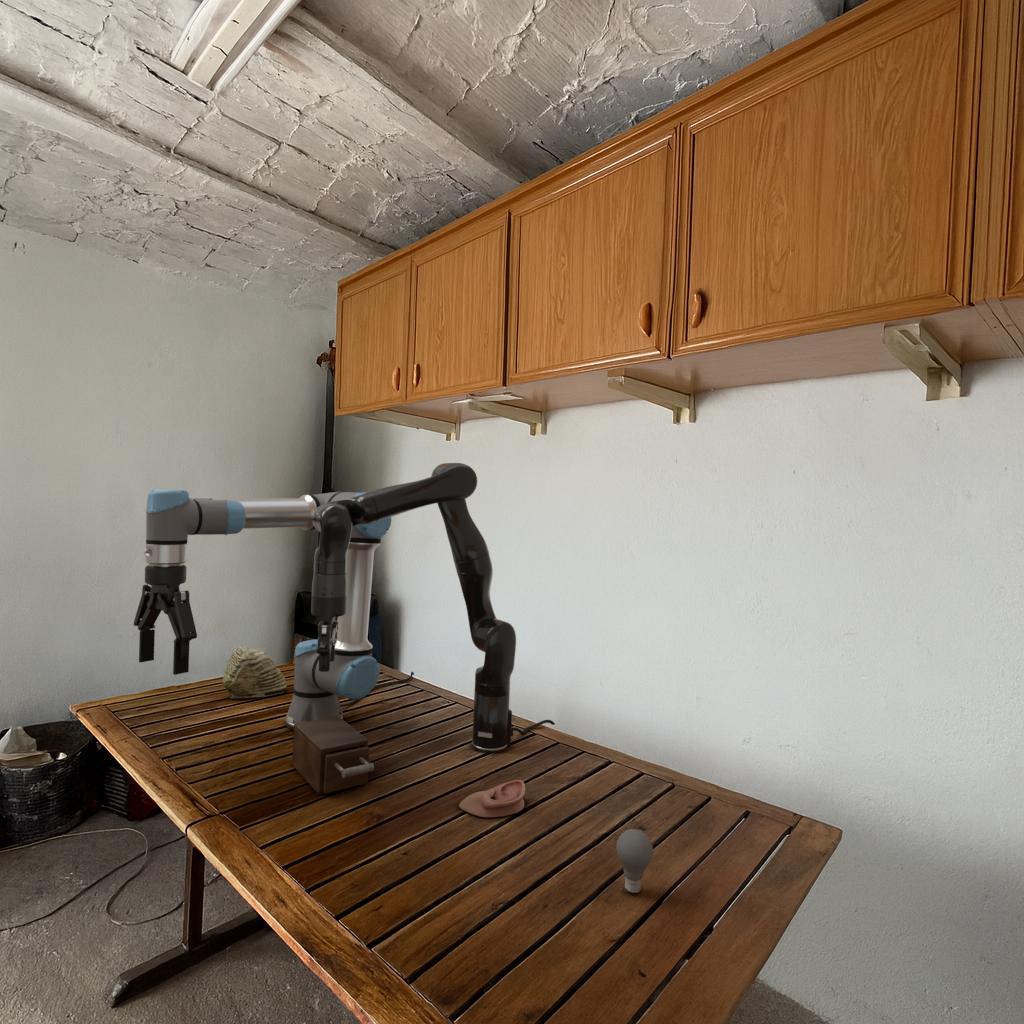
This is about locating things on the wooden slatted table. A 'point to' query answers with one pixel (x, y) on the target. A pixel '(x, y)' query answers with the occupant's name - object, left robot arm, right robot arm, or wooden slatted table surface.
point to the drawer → (346, 768)
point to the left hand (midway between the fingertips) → (163, 667)
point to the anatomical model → (496, 800)
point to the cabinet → (321, 746)
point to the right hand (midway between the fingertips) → (326, 666)
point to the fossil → (252, 674)
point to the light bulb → (634, 857)
